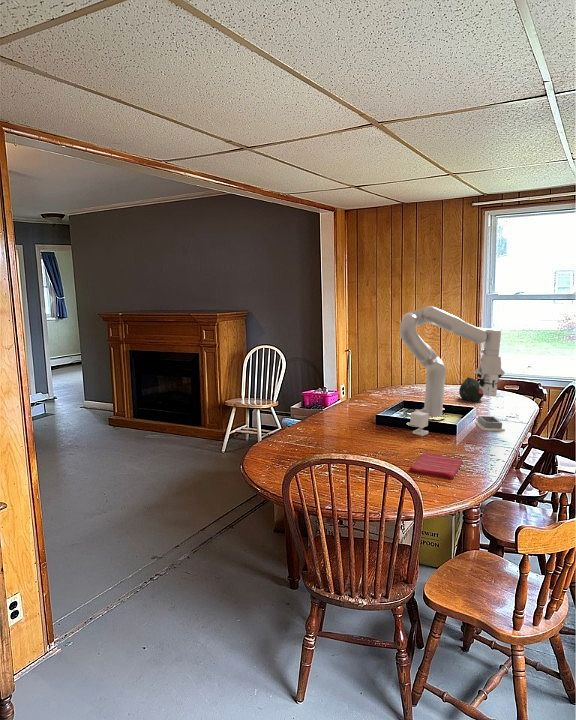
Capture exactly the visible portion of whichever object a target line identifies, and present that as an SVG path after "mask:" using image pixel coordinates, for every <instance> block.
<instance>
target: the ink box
mask: <svg viewBox="0 0 576 720" xmlns="http://www.w3.org/2000/svg"><path fill="white" fill-rule="evenodd" d="M479 374H481V373H480V372H479ZM483 379H484V383H483V387H481V386H480V384H479V393H480V394H483V396H487V397H497V391H498V384H497V382H498V381H499V379H498V374H488V375H486V374H485V375H484V377H483ZM498 383H499V382H498Z"/></svg>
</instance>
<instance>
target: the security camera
mask: <svg viewBox="0 0 576 720" xmlns="http://www.w3.org/2000/svg"><path fill="white" fill-rule="evenodd" d="M428 418H429V414H428V413H423V412H419V411H416V412H415V411H413V412H411V413H410V421H409V422H410V423H409V425H410V426H414V427H417V429H415V430H412V434H415V435H417V436H422V437H423V436H426V435H428V434H429V430H425V429H424V428H425V427H428V426H429V420H428Z"/></svg>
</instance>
